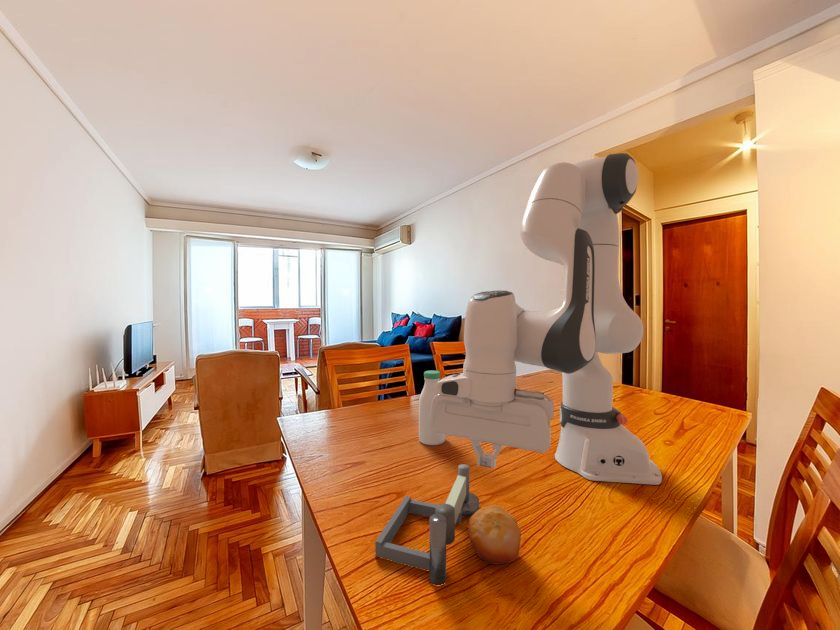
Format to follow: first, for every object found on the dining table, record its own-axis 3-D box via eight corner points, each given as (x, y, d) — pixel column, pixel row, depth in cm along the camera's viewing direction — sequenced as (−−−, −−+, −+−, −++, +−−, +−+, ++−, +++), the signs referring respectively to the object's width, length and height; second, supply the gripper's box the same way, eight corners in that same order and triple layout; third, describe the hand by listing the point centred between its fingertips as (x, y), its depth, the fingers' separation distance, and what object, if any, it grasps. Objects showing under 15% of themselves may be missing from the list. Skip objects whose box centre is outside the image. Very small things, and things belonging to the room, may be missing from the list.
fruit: (507, 520, 59) (515, 496, 55) (520, 574, 53) (530, 552, 48) (462, 522, 59) (466, 497, 54) (469, 576, 52) (474, 553, 48)
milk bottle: (443, 447, 92) (443, 375, 91) (416, 444, 94) (416, 374, 93) (447, 436, 100) (447, 369, 99) (421, 434, 101) (421, 368, 100)
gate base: (481, 501, 67) (481, 494, 67) (476, 520, 62) (476, 512, 62) (452, 495, 69) (452, 488, 69) (444, 513, 64) (444, 505, 63)
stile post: (448, 575, 49) (448, 515, 49) (443, 588, 47) (443, 526, 46) (432, 571, 50) (432, 512, 50) (427, 584, 48) (427, 522, 47)
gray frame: (461, 520, 61) (461, 507, 61) (443, 575, 49) (443, 558, 49) (405, 508, 65) (405, 495, 65) (375, 556, 53) (375, 541, 53)
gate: (472, 496, 66) (472, 465, 66) (452, 557, 50) (452, 517, 50) (457, 493, 67) (457, 463, 67) (433, 552, 51) (432, 513, 51)
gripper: (555, 389, 56) (552, 470, 56) (440, 375, 64) (438, 447, 65) (553, 398, 50) (550, 489, 50) (427, 382, 58) (425, 460, 59)
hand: (486, 465), depth 58 cm, fingers closed
